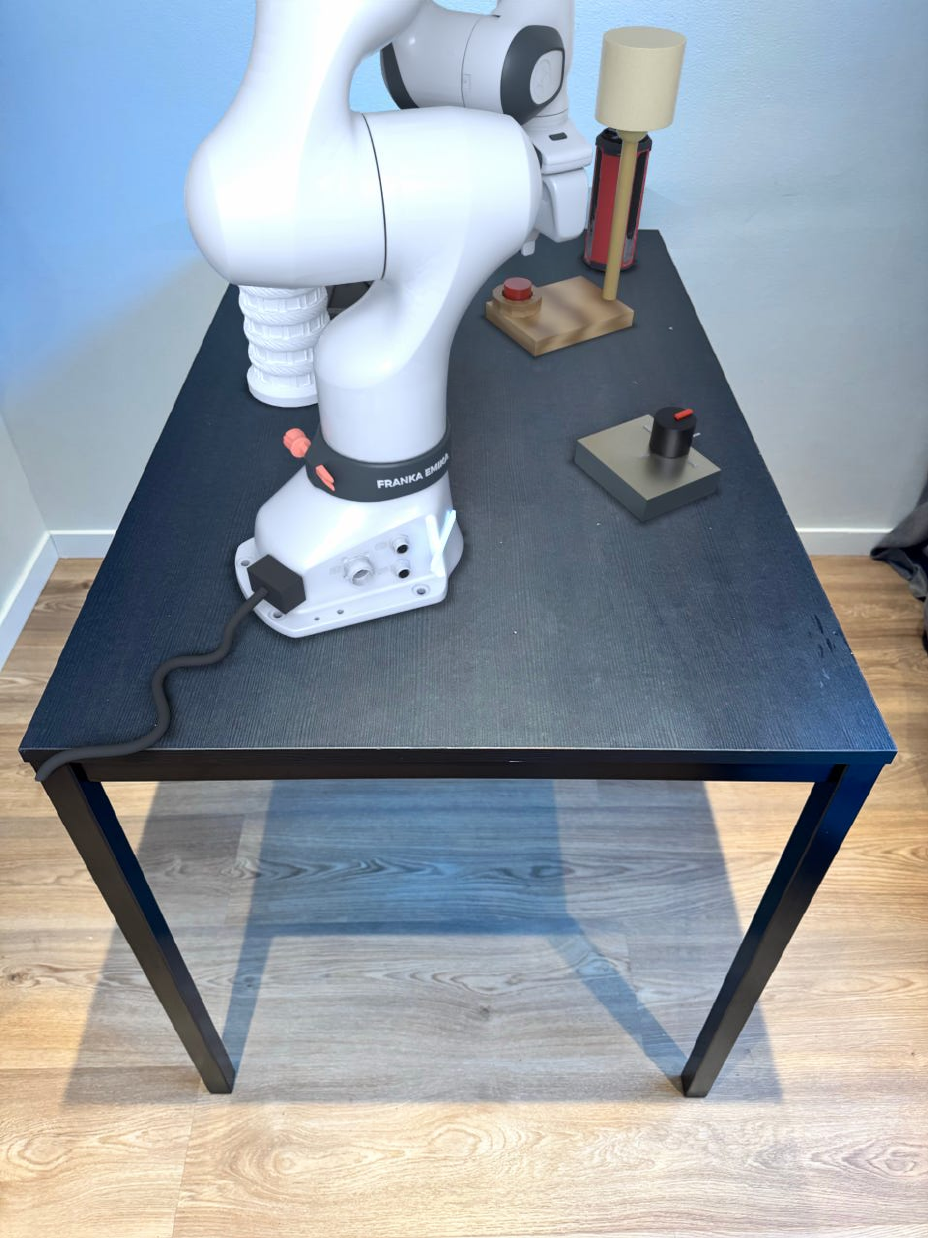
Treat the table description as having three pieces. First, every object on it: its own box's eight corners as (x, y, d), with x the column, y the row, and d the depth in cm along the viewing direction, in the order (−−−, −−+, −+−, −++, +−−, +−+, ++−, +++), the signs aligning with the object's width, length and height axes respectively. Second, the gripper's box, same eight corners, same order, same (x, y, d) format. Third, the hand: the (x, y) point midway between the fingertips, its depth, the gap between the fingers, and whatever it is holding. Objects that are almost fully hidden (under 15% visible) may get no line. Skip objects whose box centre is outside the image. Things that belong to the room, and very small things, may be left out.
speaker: (611, 279, 128) (629, 146, 115) (572, 261, 132) (585, 131, 119) (644, 263, 132) (665, 133, 119) (604, 246, 136) (621, 119, 123)
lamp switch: (513, 304, 115) (513, 292, 114) (498, 293, 117) (498, 280, 116) (535, 298, 117) (536, 285, 115) (520, 287, 119) (521, 274, 117)
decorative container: (331, 410, 104) (313, 261, 91) (236, 403, 105) (205, 254, 92) (351, 360, 112) (338, 216, 99) (263, 353, 113) (238, 210, 100)
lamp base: (533, 357, 113) (535, 328, 110) (482, 316, 120) (483, 288, 117) (632, 325, 119) (636, 297, 116) (578, 289, 126) (581, 262, 123)
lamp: (602, 319, 112) (638, 52, 91) (561, 291, 117) (586, 32, 96) (657, 302, 115) (704, 41, 94) (615, 275, 120) (650, 22, 99)
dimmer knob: (668, 462, 93) (674, 432, 90) (640, 442, 95) (646, 412, 93) (698, 449, 94) (706, 419, 92) (670, 429, 97) (677, 399, 94)
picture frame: (432, 326, 118) (439, 259, 132) (432, 312, 116) (439, 246, 131) (313, 323, 118) (333, 257, 132) (311, 309, 116) (332, 244, 131)
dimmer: (642, 522, 91) (647, 498, 88) (574, 462, 98) (577, 438, 95) (731, 485, 95) (738, 461, 93) (659, 430, 102) (664, 406, 100)
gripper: (460, 112, 107) (459, 227, 117) (555, 163, 95) (546, 287, 105) (503, 104, 110) (499, 217, 120) (602, 153, 97) (588, 275, 107)
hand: (522, 250), depth 112 cm, fingers closed
